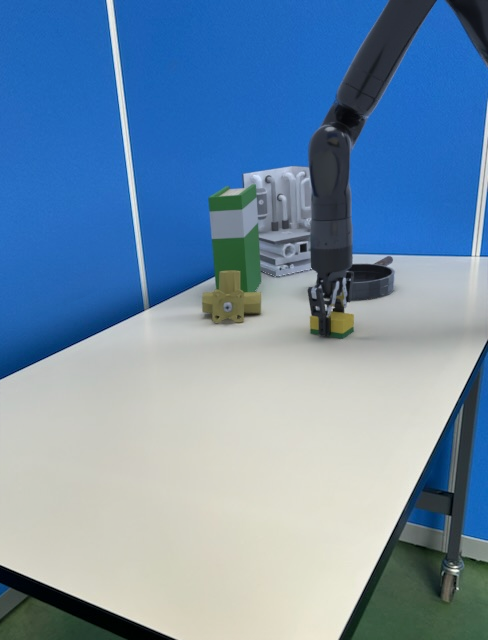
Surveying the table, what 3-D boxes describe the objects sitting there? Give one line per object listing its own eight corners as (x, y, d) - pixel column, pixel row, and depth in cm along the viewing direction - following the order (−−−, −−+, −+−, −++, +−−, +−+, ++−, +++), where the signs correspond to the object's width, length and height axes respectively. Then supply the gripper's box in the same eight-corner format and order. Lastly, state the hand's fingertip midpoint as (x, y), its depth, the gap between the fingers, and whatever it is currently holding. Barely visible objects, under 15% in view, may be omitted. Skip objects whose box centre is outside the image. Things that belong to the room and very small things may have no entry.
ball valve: (204, 316, 141) (199, 324, 131) (204, 270, 138) (198, 275, 128) (261, 316, 139) (259, 324, 130) (261, 269, 136) (260, 274, 126)
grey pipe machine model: (296, 257, 180) (293, 165, 170) (334, 268, 164) (334, 168, 153) (248, 267, 175) (242, 173, 165) (282, 280, 159) (278, 177, 149)
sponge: (353, 331, 120) (354, 313, 119) (342, 338, 117) (342, 321, 116) (321, 326, 124) (321, 309, 123) (310, 333, 121) (309, 316, 120)
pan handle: (394, 263, 156) (394, 255, 156) (374, 274, 149) (374, 266, 148) (386, 262, 158) (386, 255, 157) (366, 273, 150) (367, 265, 149)
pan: (406, 283, 145) (406, 266, 144) (373, 304, 134) (374, 285, 132) (339, 277, 156) (339, 261, 154) (303, 296, 144) (303, 279, 143)
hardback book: (233, 282, 162) (226, 186, 151) (261, 282, 159) (256, 184, 149) (217, 303, 146) (208, 197, 136) (248, 302, 144) (241, 195, 134)
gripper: (330, 252, 106) (331, 346, 113) (368, 235, 116) (366, 322, 123) (292, 250, 111) (295, 340, 118) (331, 233, 120) (332, 317, 128)
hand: (331, 330), depth 120 cm, fingers open, 5 cm apart
